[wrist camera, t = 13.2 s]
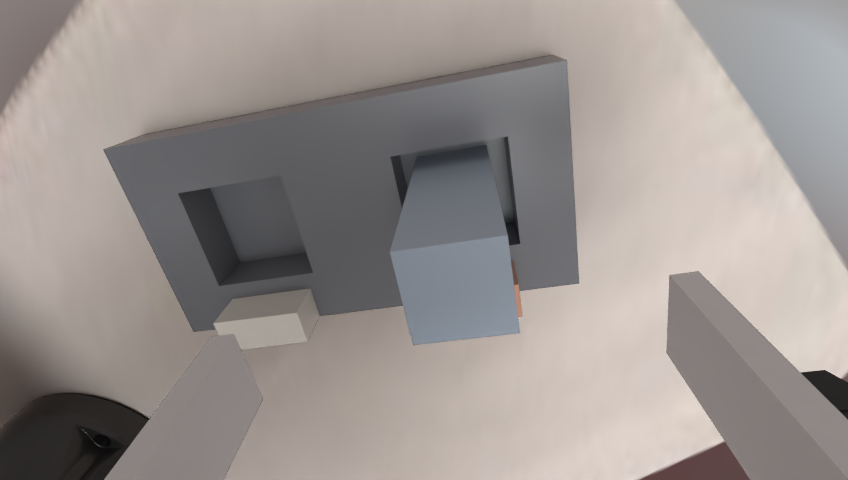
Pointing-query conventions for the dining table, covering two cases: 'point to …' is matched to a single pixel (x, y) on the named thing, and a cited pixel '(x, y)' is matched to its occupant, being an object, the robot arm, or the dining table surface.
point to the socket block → (345, 195)
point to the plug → (454, 251)
